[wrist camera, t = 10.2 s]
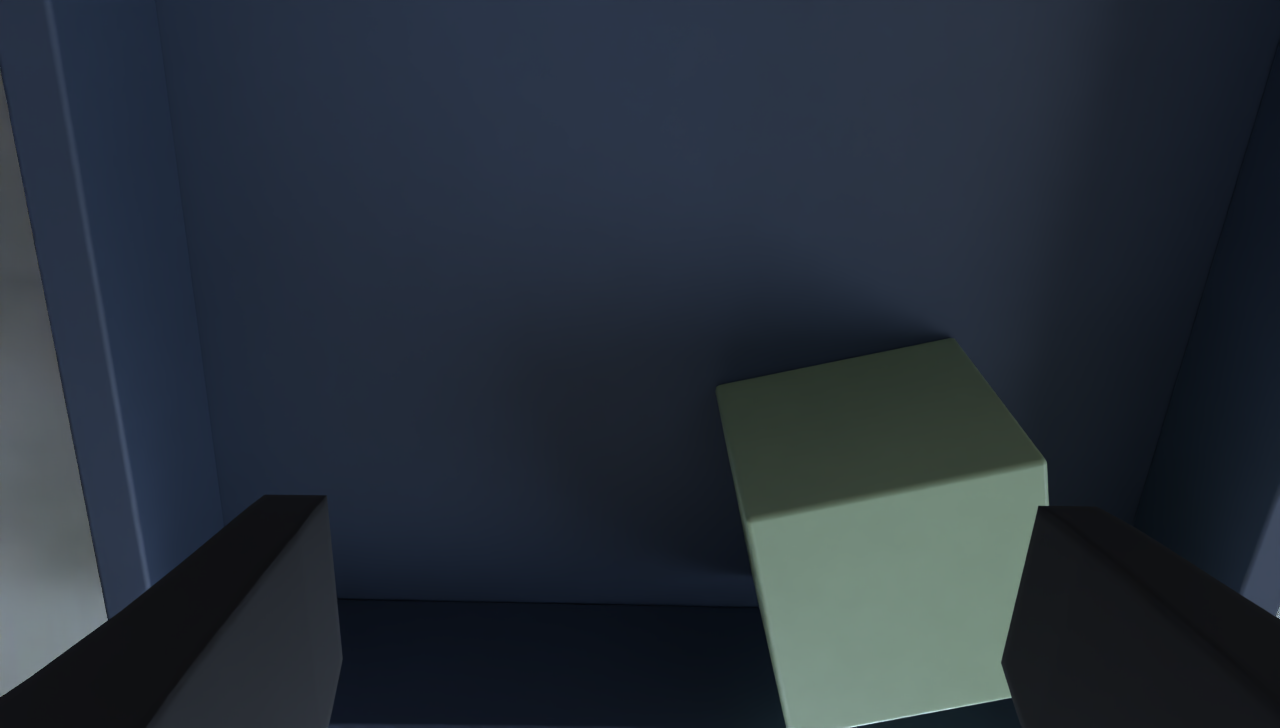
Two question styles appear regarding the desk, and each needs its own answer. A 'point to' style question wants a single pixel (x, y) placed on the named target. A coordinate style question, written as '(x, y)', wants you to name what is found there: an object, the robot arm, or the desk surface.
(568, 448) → the tote
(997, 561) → the sage block
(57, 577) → the desk surface
